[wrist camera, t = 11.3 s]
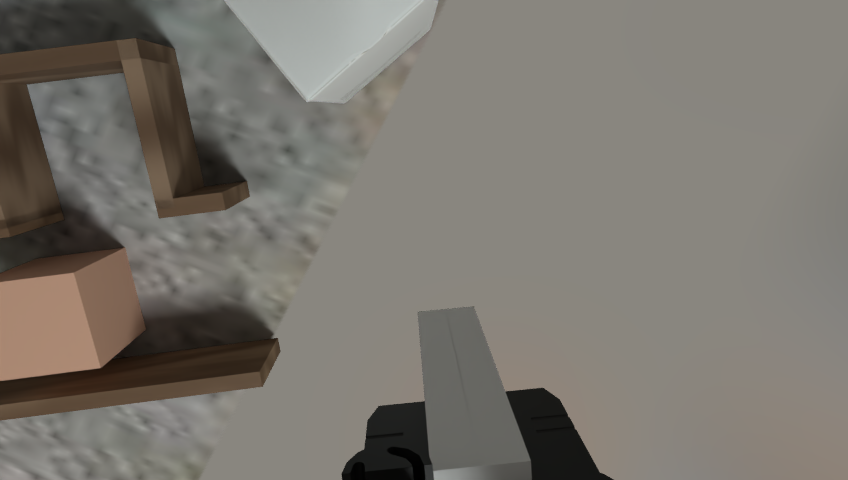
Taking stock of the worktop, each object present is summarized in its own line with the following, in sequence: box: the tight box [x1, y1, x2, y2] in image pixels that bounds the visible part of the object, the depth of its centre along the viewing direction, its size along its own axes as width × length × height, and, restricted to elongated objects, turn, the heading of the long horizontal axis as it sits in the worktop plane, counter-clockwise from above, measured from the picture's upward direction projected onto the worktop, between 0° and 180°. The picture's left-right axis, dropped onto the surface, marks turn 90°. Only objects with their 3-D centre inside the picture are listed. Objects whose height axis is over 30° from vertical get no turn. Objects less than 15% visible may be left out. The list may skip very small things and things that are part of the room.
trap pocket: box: [0, 38, 204, 229], centre depth 38 cm, size 11×12×6 cm
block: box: [0, 248, 146, 381], centre depth 40 cm, size 7×7×7 cm
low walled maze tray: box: [0, 181, 280, 420], centre depth 41 cm, size 14×27×6 cm, turn 97°
